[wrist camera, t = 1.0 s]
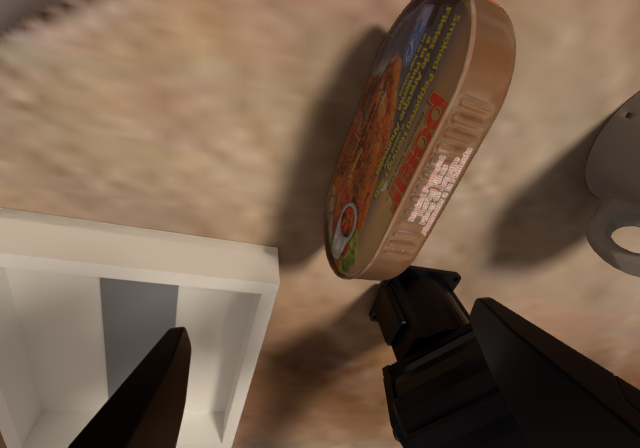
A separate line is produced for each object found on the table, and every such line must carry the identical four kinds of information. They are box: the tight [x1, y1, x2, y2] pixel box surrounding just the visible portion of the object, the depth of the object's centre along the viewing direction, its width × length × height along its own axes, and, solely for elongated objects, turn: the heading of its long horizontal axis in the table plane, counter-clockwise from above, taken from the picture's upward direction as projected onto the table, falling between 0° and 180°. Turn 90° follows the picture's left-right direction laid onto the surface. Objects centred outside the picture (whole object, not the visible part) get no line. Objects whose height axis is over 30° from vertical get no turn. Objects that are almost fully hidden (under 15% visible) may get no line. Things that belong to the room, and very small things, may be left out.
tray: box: [0, 208, 280, 448], centre depth 26 cm, size 18×22×4 cm
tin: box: [324, 0, 516, 281], centre depth 17 cm, size 15×3×8 cm, turn 162°
